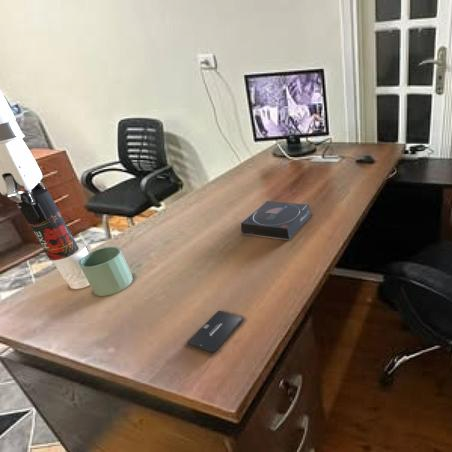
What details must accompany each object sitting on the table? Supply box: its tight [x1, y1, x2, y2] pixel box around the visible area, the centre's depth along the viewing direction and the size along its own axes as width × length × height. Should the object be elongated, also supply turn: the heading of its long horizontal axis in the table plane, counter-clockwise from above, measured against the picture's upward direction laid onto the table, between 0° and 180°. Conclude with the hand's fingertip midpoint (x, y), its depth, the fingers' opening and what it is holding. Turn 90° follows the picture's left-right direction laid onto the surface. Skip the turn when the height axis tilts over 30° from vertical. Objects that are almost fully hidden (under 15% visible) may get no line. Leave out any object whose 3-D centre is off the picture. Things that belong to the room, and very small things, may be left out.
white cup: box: [51, 242, 90, 290], centre depth 94 cm, size 8×8×10 cm
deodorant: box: [18, 188, 79, 261], centre depth 77 cm, size 6×6×15 cm
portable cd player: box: [240, 200, 312, 241], centre depth 114 cm, size 16×17×4 cm
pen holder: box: [79, 246, 134, 297], centre depth 92 cm, size 9×9×9 cm
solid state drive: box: [186, 310, 244, 355], centre depth 75 cm, size 7×10×1 cm
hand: (42, 215), depth 76 cm, fingers closed on deodorant, 6 cm apart
